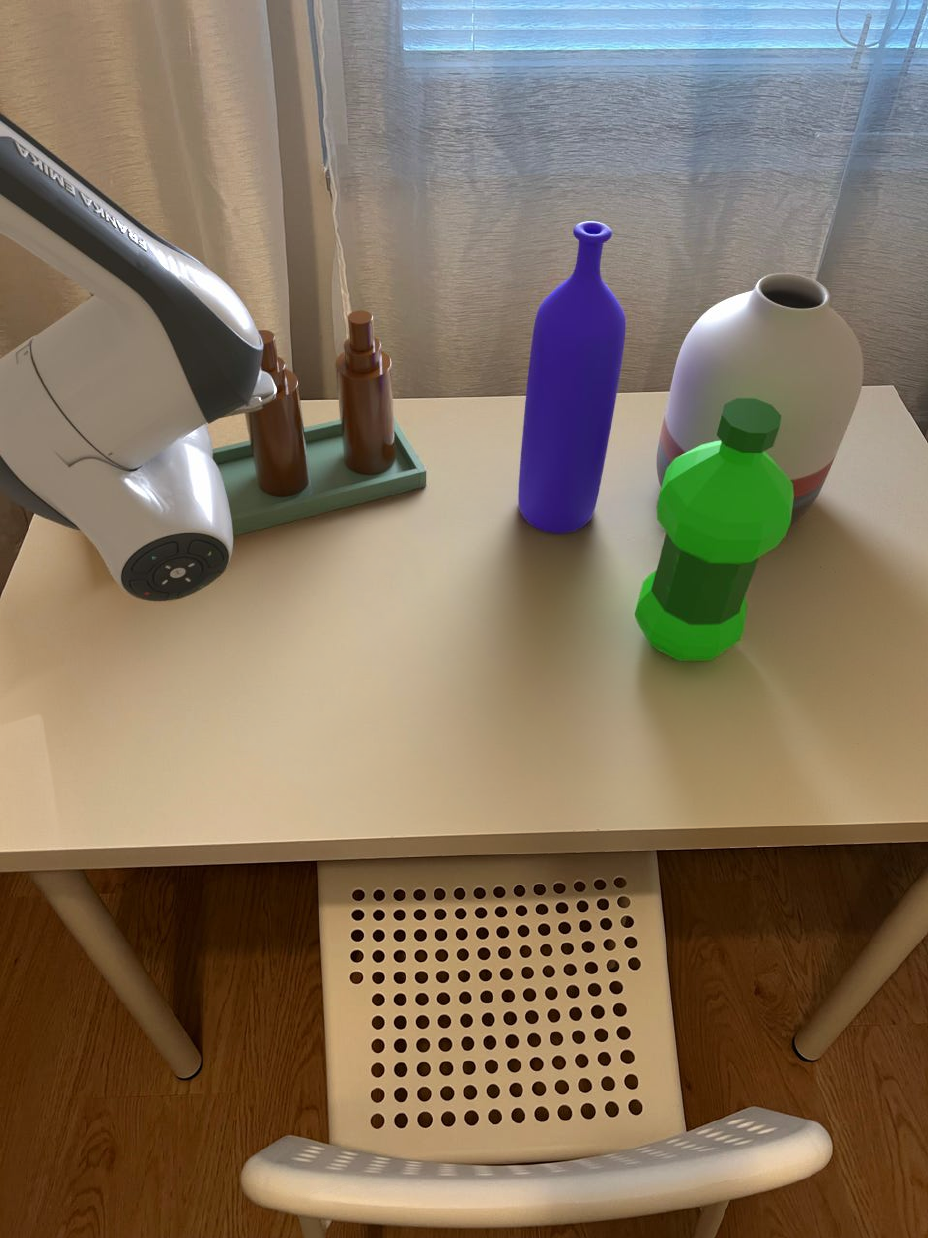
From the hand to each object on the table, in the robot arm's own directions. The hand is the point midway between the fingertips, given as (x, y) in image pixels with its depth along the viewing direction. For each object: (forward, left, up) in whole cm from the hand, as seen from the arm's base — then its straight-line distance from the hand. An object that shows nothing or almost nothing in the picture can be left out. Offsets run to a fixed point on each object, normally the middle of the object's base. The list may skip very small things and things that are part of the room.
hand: (123, 332), depth 79 cm
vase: (+55, -18, -22) cm, 61 cm away
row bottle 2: (+21, +1, -21) cm, 30 cm away
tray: (+10, +1, -21) cm, 23 cm away
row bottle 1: (+12, +1, -21) cm, 24 cm away
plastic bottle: (+40, -33, -22) cm, 56 cm away
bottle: (+37, -13, -22) cm, 44 cm away
